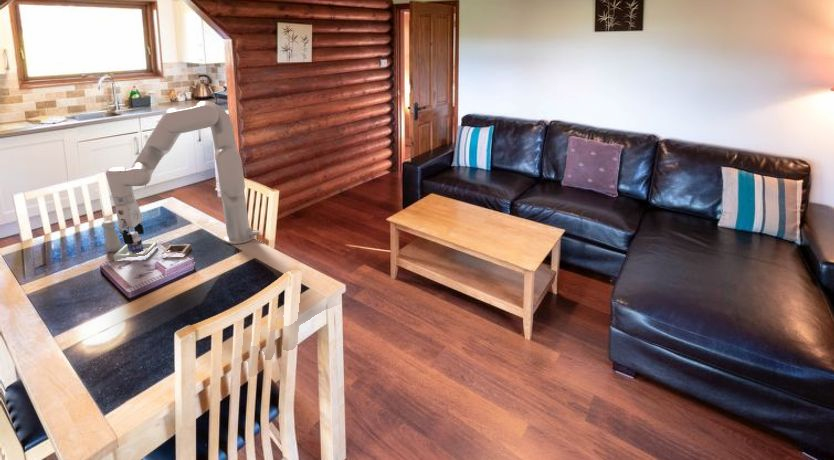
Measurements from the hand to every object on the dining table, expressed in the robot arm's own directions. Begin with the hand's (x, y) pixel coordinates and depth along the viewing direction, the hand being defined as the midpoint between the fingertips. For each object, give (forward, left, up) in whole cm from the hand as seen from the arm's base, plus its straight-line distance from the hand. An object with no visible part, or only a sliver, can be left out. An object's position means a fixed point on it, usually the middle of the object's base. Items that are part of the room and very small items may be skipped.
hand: (134, 238), depth 198 cm
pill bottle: (+1, 0, -7) cm, 7 cm away
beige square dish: (-15, 0, -7) cm, 17 cm away
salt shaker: (+12, -5, -7) cm, 14 cm away
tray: (+1, 0, -7) cm, 7 cm away
